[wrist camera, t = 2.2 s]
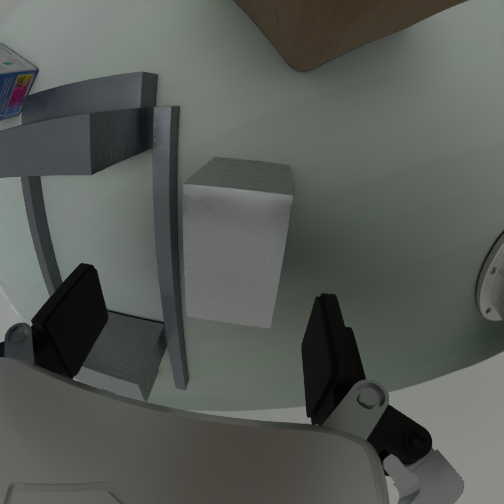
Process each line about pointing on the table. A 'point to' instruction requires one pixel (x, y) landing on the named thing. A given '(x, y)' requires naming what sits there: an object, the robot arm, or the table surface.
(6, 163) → the frame
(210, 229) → the steel block
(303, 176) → the table surface
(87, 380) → the sliding jaw
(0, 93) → the ink cartridge box
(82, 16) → the table surface
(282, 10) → the block
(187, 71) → the table surface
